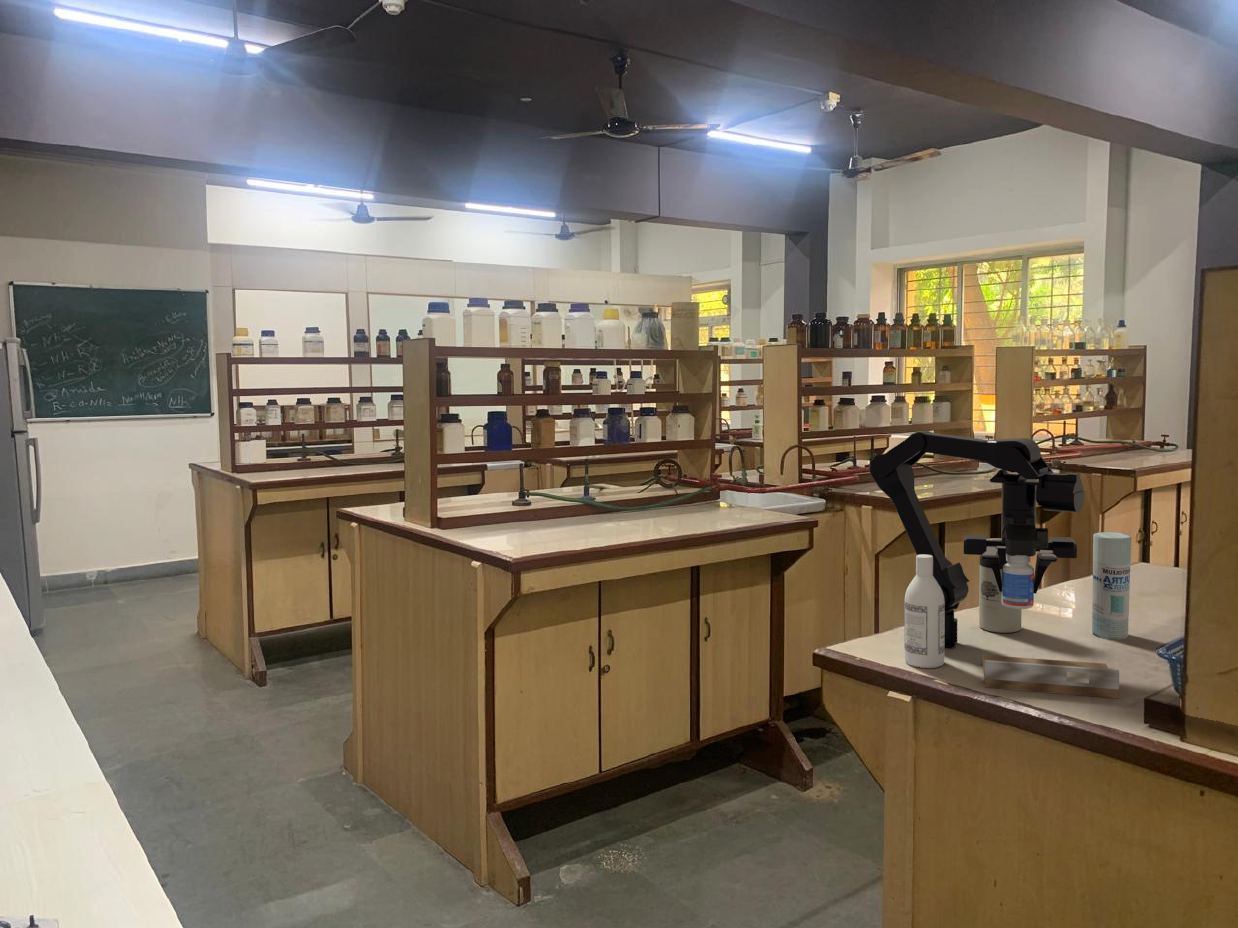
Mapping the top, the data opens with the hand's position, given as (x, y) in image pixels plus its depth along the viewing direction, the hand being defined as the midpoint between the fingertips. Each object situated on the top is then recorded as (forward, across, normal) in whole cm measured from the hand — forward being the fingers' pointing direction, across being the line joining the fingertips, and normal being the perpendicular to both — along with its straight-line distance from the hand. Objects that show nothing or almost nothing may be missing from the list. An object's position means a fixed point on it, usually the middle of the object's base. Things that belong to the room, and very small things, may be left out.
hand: (1017, 592), depth 166 cm
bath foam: (+13, -16, -7) cm, 22 cm away
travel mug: (+13, -2, +19) cm, 23 cm away
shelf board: (+12, +4, -11) cm, 17 cm away
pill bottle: (+3, 0, 0) cm, 3 cm away
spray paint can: (+13, +18, +19) cm, 29 cm away
